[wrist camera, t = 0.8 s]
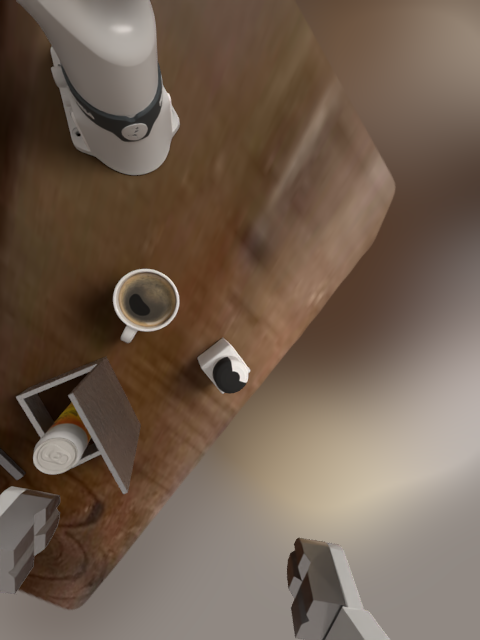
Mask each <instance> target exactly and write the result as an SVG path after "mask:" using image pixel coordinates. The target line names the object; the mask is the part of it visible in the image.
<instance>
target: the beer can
mask: <svg viewBox="0 0 480 640" xmlns="http://www.w3.org/2000/svg"><path fill="white" fill-rule="evenodd" d="M90 439H91V435H90V434H89V432H88V430H87V428H86V427H85V425H84V423H83V421H82V419H81V418H80V416H79V414H78V412H77V411H76V409H75V407H74V405H73V403H72V402H71V403H70V405H69V406H68V407H67V408H66V409H65V410H64V412H63V413H62V414H61V415H60V416H59V418H58V419H57V420H56V421H55V422H54V424H53V425H52V426H51V427H50V428H49V429H48V431H47V432H46V433H45V434H44V435H43V437H42V438H41V439H40V440H39V441H38V443H37V444H36V446H35V449H34V455H33V462H34V465H35V466H36V468H37V469H38V470H40V471H41V472H43V473H46V474H60V473H63V472H65V471H67V470H69V469H70V468H71V467H73V466H74V465H75V464H77V463H78V461H79V460H80V459H81V457H82V455H83V453H84V451H85V449H86V447H87V445H88V443H89V441H90Z"/></svg>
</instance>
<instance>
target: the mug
mask: <svg viewBox="0 0 480 640" xmlns="http://www.w3.org/2000/svg"><path fill="white" fill-rule="evenodd" d="M113 305H114V309H115V311H116V314H117V315H118V317H119V318H120V319H121V321H122V322H123V323H125V324H126V325H127V326H126V328H125V329H124V331H123V333H122V335H121V340H122V341H124V342H126V343H130V342H131V341H132V339H133V338H134V336H135V334H136V333H137V331H138V330H139V331H146V332H147V331H155V330H158V329H161V328H163V327H165V326H166V325H168V324H169V323H170V322H171V321H172V320H173V319H174V317H175V316H176V313H177V311H178V308H179V295H178V291H177V288H176V287H175V285H174V283H173V282H172V281H171V280H170V279H169V278H168V277H167V276H166V275H164V274H163V273H161V272H159V271H156V270H152V269H138V270H134V271H132V272H130V273H128V274H126V275H125V276H123V277H122V278H121V279H120V280H119V282H118V283H117V285H116V287H115V289H114V293H113Z"/></svg>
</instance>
